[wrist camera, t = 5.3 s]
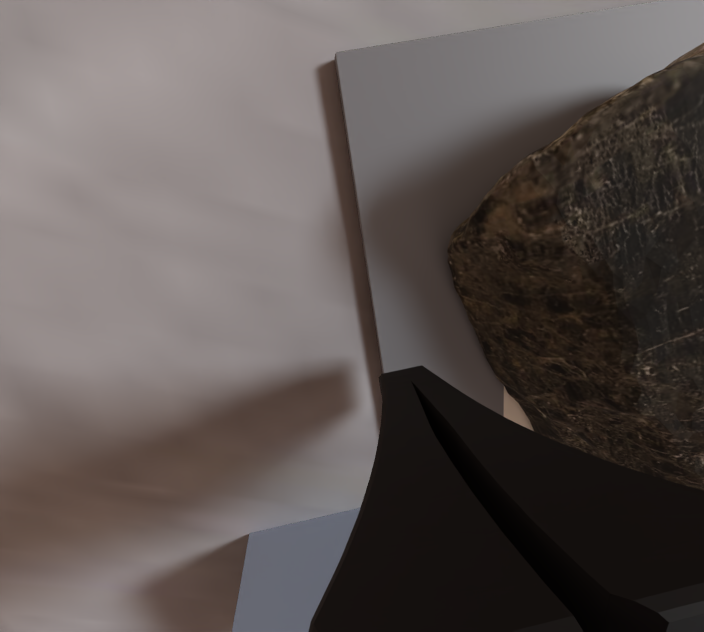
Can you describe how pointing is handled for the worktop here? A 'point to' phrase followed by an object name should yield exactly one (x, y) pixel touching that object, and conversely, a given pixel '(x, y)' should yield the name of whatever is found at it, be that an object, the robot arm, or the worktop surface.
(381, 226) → the letter board
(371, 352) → the worktop surface
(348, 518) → the gray cube
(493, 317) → the rock
